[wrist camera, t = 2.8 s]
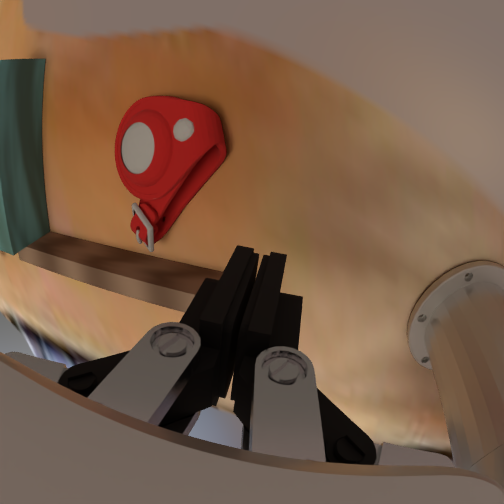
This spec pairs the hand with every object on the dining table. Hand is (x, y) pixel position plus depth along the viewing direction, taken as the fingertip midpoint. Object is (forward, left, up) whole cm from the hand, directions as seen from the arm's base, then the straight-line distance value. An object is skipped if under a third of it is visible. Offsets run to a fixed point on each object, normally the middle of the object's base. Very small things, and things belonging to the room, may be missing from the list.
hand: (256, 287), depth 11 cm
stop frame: (+16, 0, -13) cm, 21 cm away
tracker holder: (+11, 0, -14) cm, 18 cm away
